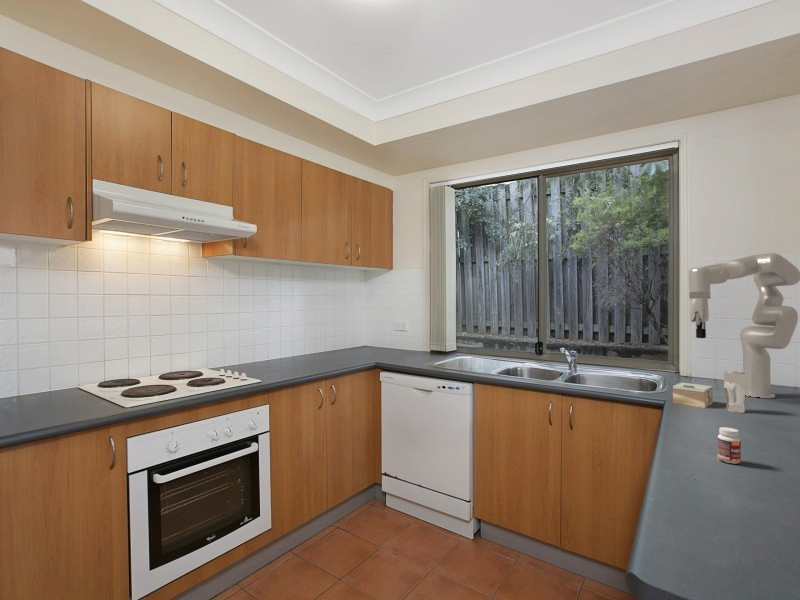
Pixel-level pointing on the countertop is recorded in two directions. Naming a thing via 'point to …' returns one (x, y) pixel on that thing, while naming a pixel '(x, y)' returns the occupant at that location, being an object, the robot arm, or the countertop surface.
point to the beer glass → (735, 391)
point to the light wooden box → (693, 398)
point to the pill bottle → (729, 444)
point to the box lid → (693, 387)
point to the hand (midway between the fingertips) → (701, 337)
